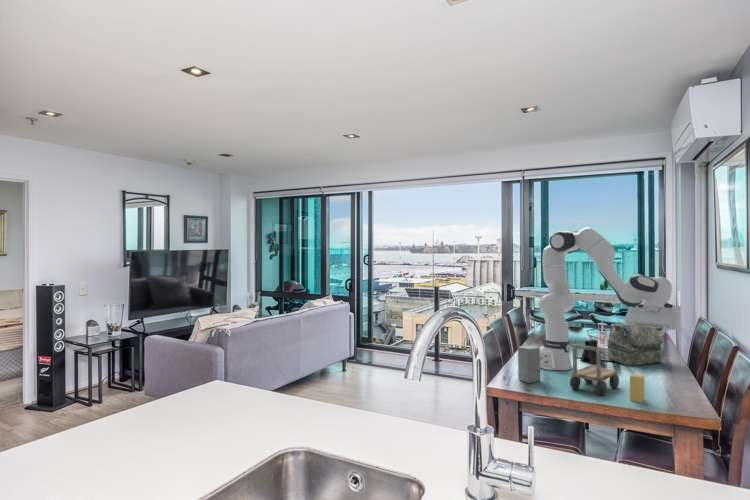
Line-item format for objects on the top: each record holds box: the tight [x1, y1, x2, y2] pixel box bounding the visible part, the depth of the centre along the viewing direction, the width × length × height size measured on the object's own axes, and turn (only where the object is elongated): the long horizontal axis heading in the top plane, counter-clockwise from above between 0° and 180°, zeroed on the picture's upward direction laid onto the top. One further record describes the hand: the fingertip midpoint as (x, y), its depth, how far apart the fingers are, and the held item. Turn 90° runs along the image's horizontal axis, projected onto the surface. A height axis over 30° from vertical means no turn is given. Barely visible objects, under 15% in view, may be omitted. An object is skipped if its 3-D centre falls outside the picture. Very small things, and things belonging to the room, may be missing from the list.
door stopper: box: [580, 339, 603, 366], centre depth 242 cm, size 9×6×12 cm, turn 25°
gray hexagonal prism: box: [517, 345, 541, 384], centre depth 211 cm, size 8×7×16 cm
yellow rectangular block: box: [629, 373, 645, 404], centre depth 182 cm, size 4×4×10 cm
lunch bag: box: [607, 322, 663, 367], centre depth 243 cm, size 26×18×22 cm
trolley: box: [569, 343, 620, 397], centre depth 198 cm, size 13×20×20 cm, turn 131°
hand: (647, 333), depth 190 cm, fingers open, 8 cm apart
